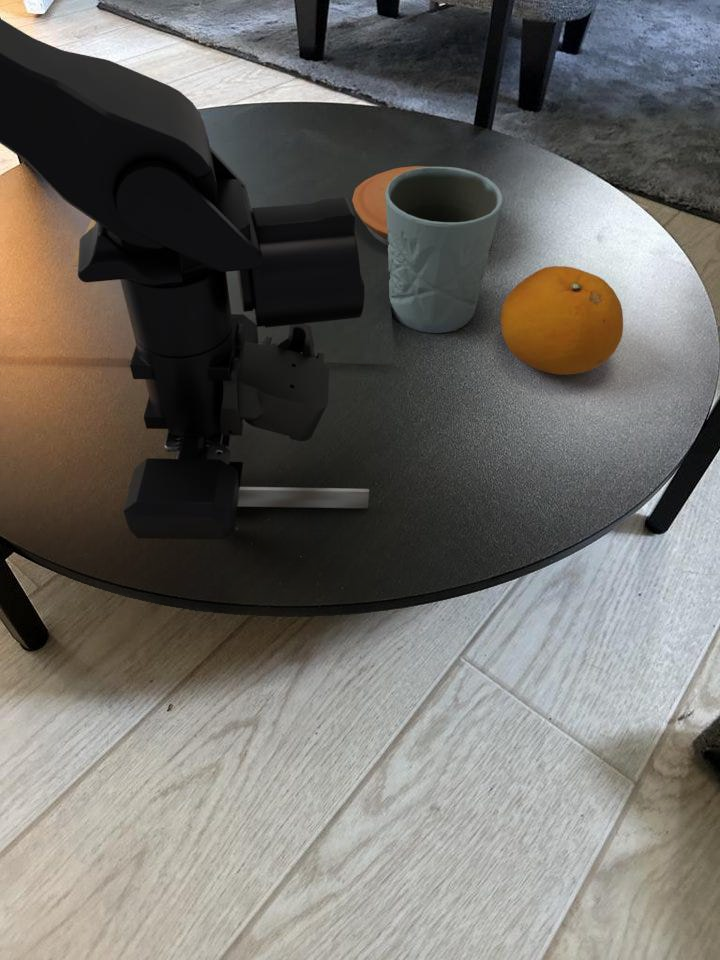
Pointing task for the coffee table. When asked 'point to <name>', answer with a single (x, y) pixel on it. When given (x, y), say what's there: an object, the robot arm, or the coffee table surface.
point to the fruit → (562, 320)
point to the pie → (376, 201)
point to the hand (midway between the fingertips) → (214, 496)
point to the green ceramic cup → (439, 244)
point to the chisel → (303, 497)
